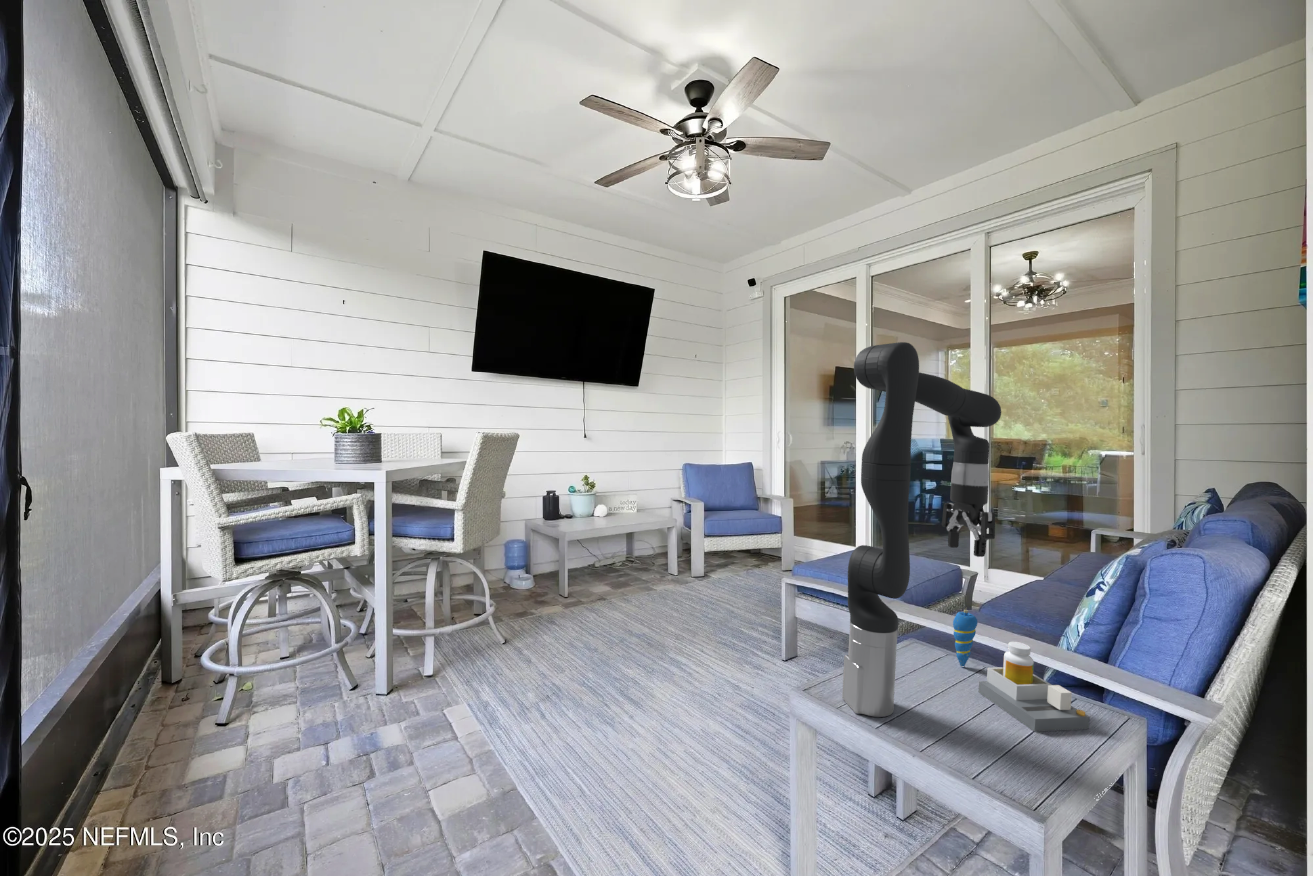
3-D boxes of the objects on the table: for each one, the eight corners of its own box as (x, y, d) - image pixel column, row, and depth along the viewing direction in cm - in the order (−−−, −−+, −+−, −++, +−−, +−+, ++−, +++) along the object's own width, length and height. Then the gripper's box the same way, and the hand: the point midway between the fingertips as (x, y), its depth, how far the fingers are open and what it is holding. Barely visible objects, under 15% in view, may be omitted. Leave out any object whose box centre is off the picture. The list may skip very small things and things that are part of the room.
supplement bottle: (1036, 697, 113) (1039, 652, 112) (1008, 693, 114) (1011, 649, 113) (1025, 684, 118) (1027, 641, 118) (998, 681, 119) (1000, 638, 119)
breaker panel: (1034, 731, 104) (1036, 704, 104) (978, 692, 119) (979, 668, 119) (1088, 728, 106) (1090, 701, 106) (1026, 690, 121) (1028, 666, 120)
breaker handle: (1059, 710, 107) (1061, 693, 107) (1047, 702, 110) (1048, 685, 110) (1070, 709, 107) (1071, 692, 107) (1057, 701, 110) (1058, 685, 110)
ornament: (968, 663, 133) (972, 604, 133) (979, 673, 128) (982, 611, 128) (947, 661, 134) (950, 603, 133) (956, 671, 129) (959, 610, 128)
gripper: (1008, 486, 117) (1003, 559, 118) (962, 479, 131) (959, 544, 132) (977, 486, 116) (972, 559, 117) (934, 478, 130) (931, 544, 131)
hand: (965, 551), depth 124 cm, fingers open, 8 cm apart
